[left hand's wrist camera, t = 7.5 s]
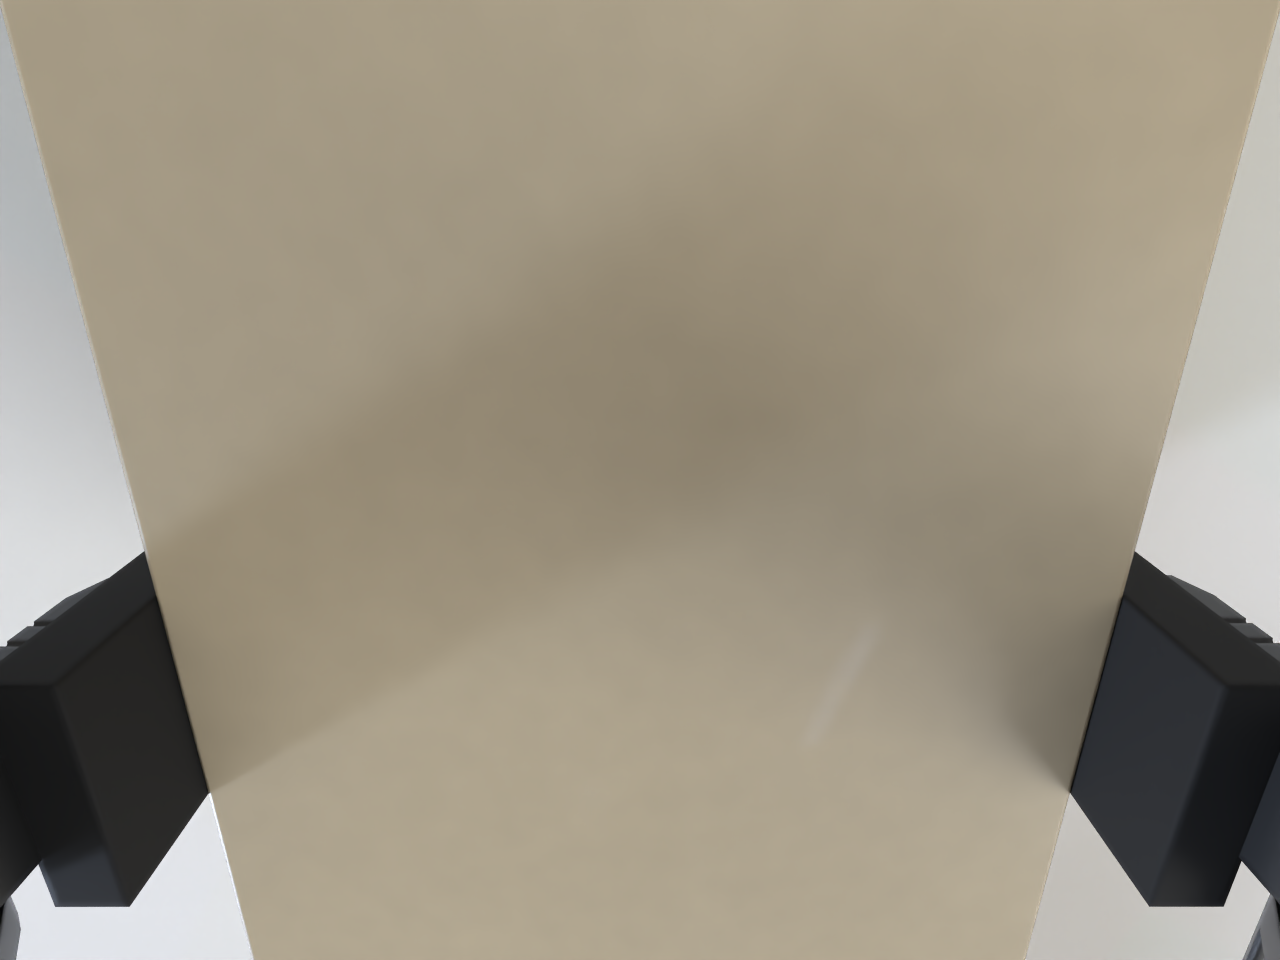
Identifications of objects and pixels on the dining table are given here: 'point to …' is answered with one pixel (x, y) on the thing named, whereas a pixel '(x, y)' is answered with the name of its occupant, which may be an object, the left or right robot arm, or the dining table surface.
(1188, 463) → the dining table surface
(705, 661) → the cabinet
